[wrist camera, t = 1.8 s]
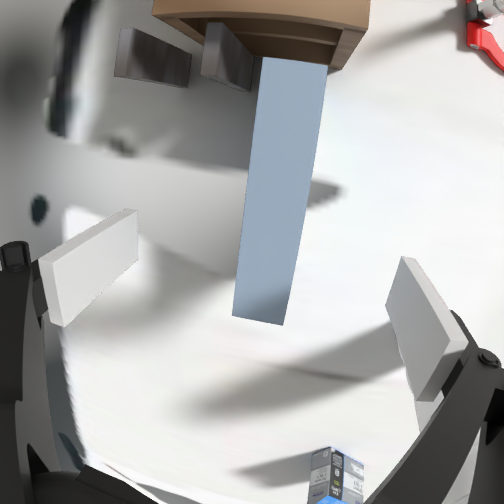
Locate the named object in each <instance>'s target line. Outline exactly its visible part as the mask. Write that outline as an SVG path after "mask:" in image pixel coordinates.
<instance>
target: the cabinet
mask: <svg viewBox="0 0 504 504" xmlns="http://www.w3.org/2000/svg"><path fill="white" fill-rule="evenodd" d="M369 13H370V0H154V4H153V10H152V15H153V16H154V17H156V18H158V19H160V20H162V21H163V22H165V23H167V24H168V25H170V26H172V27H174V28H175V29H177V30H179V31H180V32H182V33H184V34H185V35H187V36H189V37H190V38H192V39H193V40H195V41H197V42H198V43H200V44H201V45H203V46H204V50H203V57H202V64H201V72H200V75H202V76H205V77H208V78H210V79H213V80H215V81H218V82H220V83H223V84H225V85H227V86H230V87H232V88H234V89H237V90H239V91H247V92H250V87H251V79H252V71H253V64H254V57H257V58H263V57H269V58H278V59H287V60H294V61H302V62H308V63H315V64H321V65H326V66H328V67H331V68H336V69H341V70H342V68H343V67H344V65H345V64H346V62H347V61H348V59H349V57H350V56H351V54H352V53H353V51H354V50H355V48H356V47H357V45H358V43H359V42H360V40H361V39H362V37H363V36H364V34H365V33H366V31H367V30H368V25H369ZM191 57H192V55H191V54H189V53H187V52H185V51H183V50H181V49H179V48H177V47H175V46H173V45H171V44H169V43H166V42H164V41H162V40H160V39H158V38H155V37H153V36H151V35H149V34H146V33H144V32H142V31H139V30H137V29H135V28H125V29H121V30H120V36H119V42H118V49H117V56H116V64H115V72H114V77H121V78H128V79H135V80H141V81H147V82H153V83H158V84H163V85H169V86H174V87H179V88H188V80H189V72H190V64H191Z"/></svg>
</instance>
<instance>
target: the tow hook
mask: <svg viewBox="0 0 504 504" xmlns="http://www.w3.org/2000/svg"><path fill="white" fill-rule="evenodd" d="M503 14H504V0H467V4H466V23H467V45H468V46H469V47H471V48H473V49H478V50H480V49H482V50H484V51H486V53H487V54H488V56H489V57H490V59H491V60H492V61H493V62H494V63H495V64H496V65H497V66H498V67H499V68H500V69H501V70H503V71H504V52H503V51H502V50H501V49H500V48H499V46H498V44H497V43H496V41H495V39H494V37H493V35H492V34H491V33H490V32H488V31H486V30H484V29H482V28H484V27H487V26H490V25H492V18H495V17H497V16H500V15H503Z"/></svg>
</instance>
